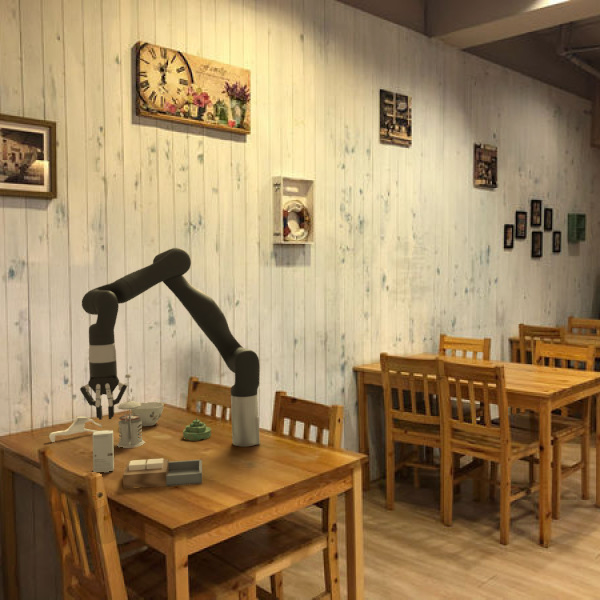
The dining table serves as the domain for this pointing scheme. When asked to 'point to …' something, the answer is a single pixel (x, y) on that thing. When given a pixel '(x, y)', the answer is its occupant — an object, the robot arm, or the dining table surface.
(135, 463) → the tile
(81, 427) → the white clothes hanger
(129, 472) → the board
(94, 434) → the skincare box
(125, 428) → the french press
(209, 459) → the dining table surface
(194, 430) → the decorative artifact
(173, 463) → the tray
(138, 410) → the teacup
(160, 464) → the tile
